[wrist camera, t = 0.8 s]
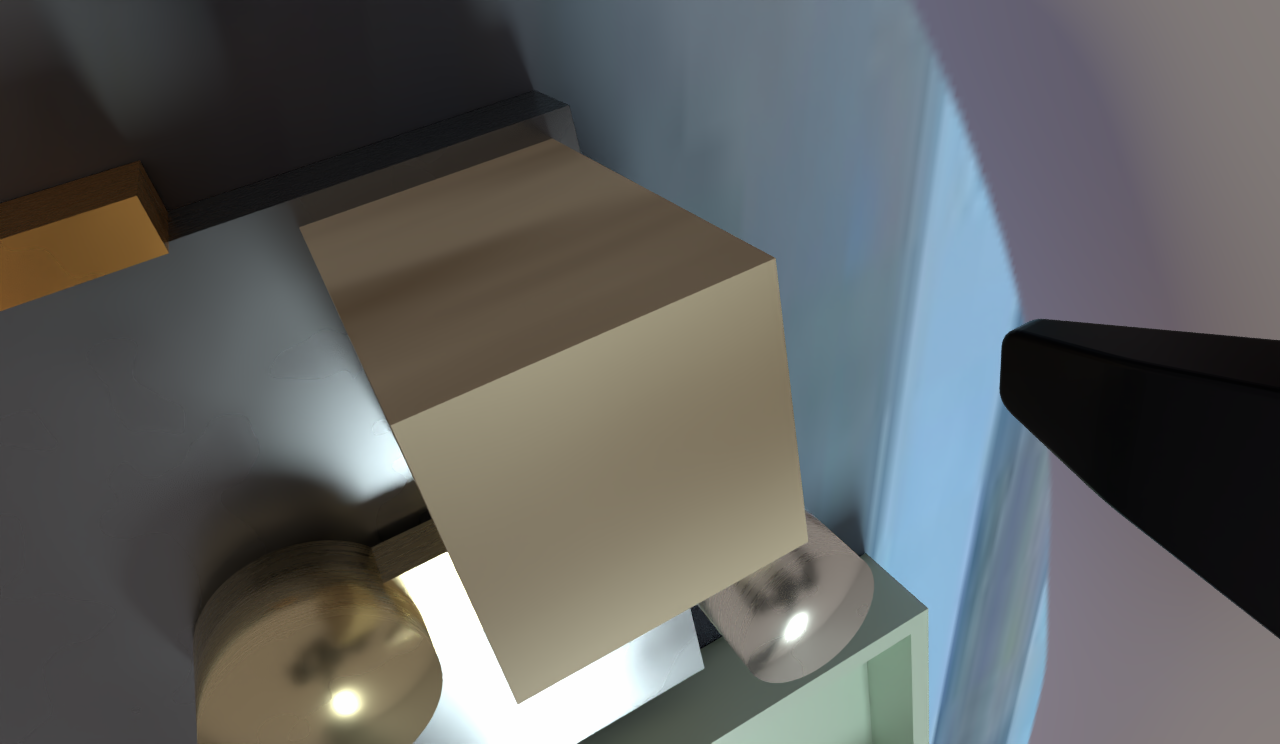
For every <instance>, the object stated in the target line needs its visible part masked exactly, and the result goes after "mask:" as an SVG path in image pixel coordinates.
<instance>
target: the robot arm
mask: <svg viewBox="0 0 1280 744" xmlns="http://www.w3.org/2000/svg"><path fill="white" fill-rule="evenodd" d="M1000 396H1001V399H1002V401H1003V404H1004V405H1005V407H1006V408H1007V410H1008V411H1009V412H1010V413H1011V414H1012V415H1013V416H1014V417H1015V418H1016V419H1017V420H1018V421H1020V422H1021V423H1022V424H1023V425H1024V426H1025V427H1026V428H1027V429H1028V430H1029V431H1030V432H1031V433H1032V434H1033V435H1034V436H1035V437H1036V438H1038V439H1039V440H1040V441H1041V442H1042V443H1043V444H1044V445H1045V446H1046V447H1047V448H1048V449H1049V450H1050V451H1051V452H1052V453H1053V454H1054V455H1056V456H1057V457H1058V458H1059V459H1060V460H1061V461H1062V462H1063V463H1064V464H1065V465H1066V466H1067V467H1068V468H1069V469H1070V470H1071V471H1073V472H1074V473H1075V474H1076V475H1077V476H1078V477H1079V478H1080V479H1081V480H1082V481H1083V482H1084V483H1085V484H1086V485H1088V486H1089V488H1091V489H1092V490H1093V491H1094V492H1095V493H1096V494H1098V496H1099V497H1101V498H1102V499H1103V500H1104V501H1105V502H1106V503H1108V504H1109V505H1110V506H1111V507H1112V508H1114V509H1115V510H1116V511H1117V512H1118V513H1120V514H1121V515H1122V516H1123V517H1125V518H1126V519H1127V520H1128V521H1130V522H1131V523H1132V524H1134V525H1135V526H1136V527H1138V528H1139V529H1140V530H1141V531H1143V532H1144V533H1145V534H1146V535H1148V536H1149V537H1150V538H1151V539H1153V540H1154V541H1155V542H1157V543H1158V544H1159V545H1160V546H1162V547H1163V548H1164V549H1166V550H1167V551H1168V552H1169V553H1171V554H1172V555H1173V556H1174V557H1176V558H1177V559H1178V560H1180V561H1181V562H1182V563H1183V564H1185V565H1186V566H1187V567H1188V568H1190V569H1191V570H1192V571H1194V572H1195V573H1196V574H1197V575H1199V576H1200V577H1201V578H1203V579H1204V580H1205V581H1206V582H1208V583H1209V584H1210V585H1212V586H1213V587H1214V588H1215V589H1216V590H1218V591H1219V592H1220V593H1222V594H1223V595H1224V596H1226V597H1227V598H1228V599H1229V600H1231V601H1232V602H1233V603H1234V604H1236V605H1237V606H1238V607H1239V608H1241V609H1242V610H1244V611H1245V612H1246V613H1247V614H1248V615H1250V616H1251V617H1252V618H1253V619H1255V620H1256V621H1257V622H1259V623H1260V624H1261V625H1262V626H1264V627H1265V628H1266V629H1268V630H1269V631H1270V632H1271V633H1273V634H1274V635H1275V636H1277V637H1278V638H1279V639H1280V340H1270V339H1259V338H1248V337H1237V336H1226V335H1215V334H1204V333H1193V332H1182V331H1171V330H1160V329H1148V328H1138V327H1127V326H1115V325H1104V324H1093V323H1081V322H1071V321H1060V320H1049V319H1036V320H1032V321H1029V322H1027V323H1025V324H1023V325H1021V326H1020V327H1018V328H1016V329H1014V330H1012V331H1010V332H1009V333H1008V334H1006V336H1005V337H1004V339H1003V342H1002V350H1001V370H1000Z"/></svg>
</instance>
